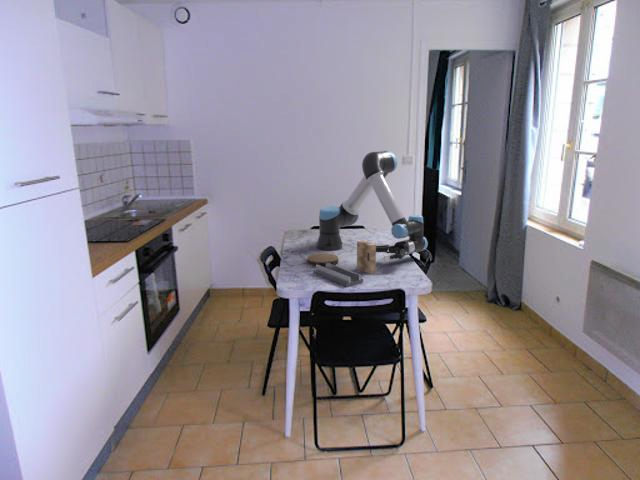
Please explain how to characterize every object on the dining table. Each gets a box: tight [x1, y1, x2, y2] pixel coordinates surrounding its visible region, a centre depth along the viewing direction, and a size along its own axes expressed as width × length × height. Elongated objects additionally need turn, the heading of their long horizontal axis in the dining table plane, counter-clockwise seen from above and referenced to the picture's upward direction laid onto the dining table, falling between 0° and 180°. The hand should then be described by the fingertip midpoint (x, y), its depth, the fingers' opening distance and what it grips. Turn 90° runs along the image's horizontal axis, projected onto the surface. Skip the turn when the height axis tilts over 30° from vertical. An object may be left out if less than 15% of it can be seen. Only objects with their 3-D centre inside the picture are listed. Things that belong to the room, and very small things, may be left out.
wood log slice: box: [306, 252, 339, 268], centre depth 232 cm, size 16×16×3 cm
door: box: [356, 240, 377, 275], centre depth 217 cm, size 10×3×14 cm, turn 37°
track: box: [312, 263, 364, 288], centre depth 208 cm, size 24×10×4 cm, turn 37°
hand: (374, 255), depth 219 cm, fingers open, 13 cm apart
